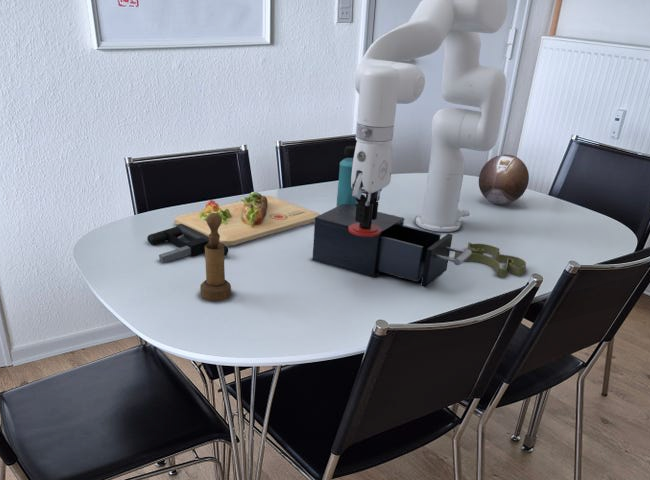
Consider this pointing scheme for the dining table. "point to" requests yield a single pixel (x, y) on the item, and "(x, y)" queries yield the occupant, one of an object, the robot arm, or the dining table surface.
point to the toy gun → (181, 242)
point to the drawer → (416, 254)
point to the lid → (365, 227)
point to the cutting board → (249, 218)
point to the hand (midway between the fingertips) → (365, 219)
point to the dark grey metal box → (349, 240)
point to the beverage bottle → (346, 179)
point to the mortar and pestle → (215, 265)
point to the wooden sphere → (503, 179)
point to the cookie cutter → (495, 259)
